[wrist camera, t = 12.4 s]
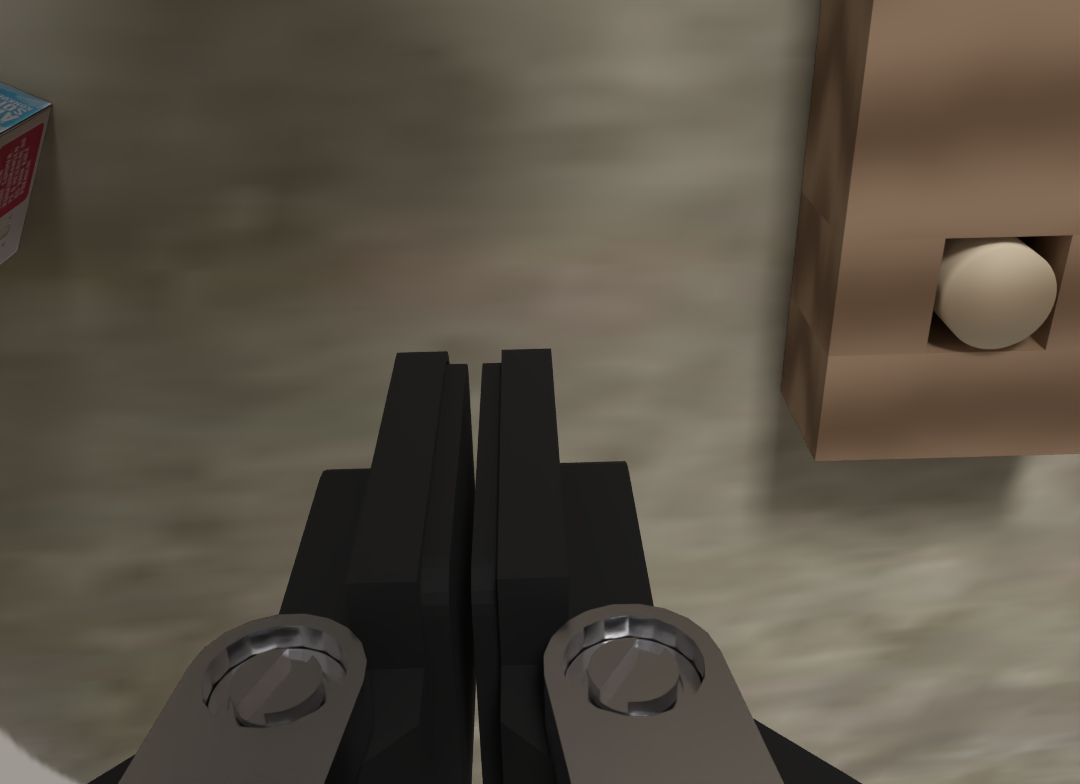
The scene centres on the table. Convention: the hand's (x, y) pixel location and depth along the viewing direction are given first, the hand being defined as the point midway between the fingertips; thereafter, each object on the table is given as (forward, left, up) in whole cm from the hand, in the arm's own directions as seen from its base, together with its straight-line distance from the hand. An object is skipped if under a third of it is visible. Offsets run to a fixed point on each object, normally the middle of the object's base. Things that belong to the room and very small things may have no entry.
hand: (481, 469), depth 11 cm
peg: (+9, +18, -30) cm, 37 cm away
